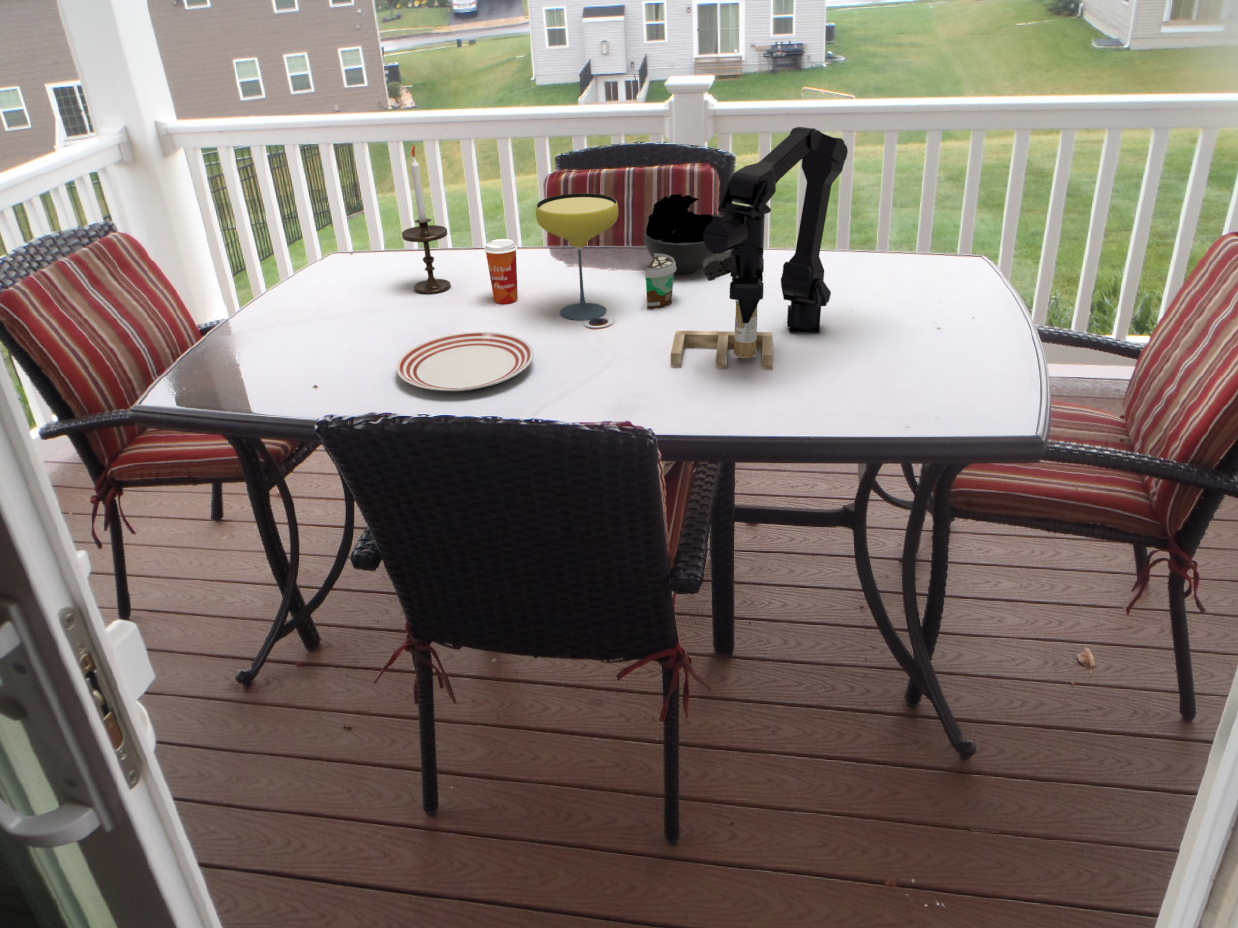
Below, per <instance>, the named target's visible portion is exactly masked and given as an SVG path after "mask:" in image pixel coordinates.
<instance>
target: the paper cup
mask: <svg viewBox="0 0 1238 928" xmlns="http://www.w3.org/2000/svg"><path fill="white" fill-rule="evenodd" d="M484 247H485V248H484V249H483V250H484V251H483V252H485V254H486V260H487V266H488V272H489V277H490V278H489V280H490V285H491V290H492V295H493V300H494V302H495V304H497V305H511V304H513V303H516V302H517V301H518V295H519V294H518V272H517V271H518V270H517V268H518V267H517V265H518V264H517V250H518V246H517V244H516V243H515V241H514V240H512V239H508V238H498V239H493V240H490V241H489V242H487V243H485V246H484Z"/></svg>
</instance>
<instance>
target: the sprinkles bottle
mask: <svg viewBox="0 0 1238 928" xmlns="http://www.w3.org/2000/svg"><path fill="white" fill-rule="evenodd" d="M734 318H735V319H734V332H735V348H734V349H733V354H734V356H736V357H737V358H739V359H740V358H741V359H747V358H748V359H749V358H753V357H754V356H756V354H757V351H756V350H757V349H756V338H757V332H758V306H757V307H756V309H755V311H754V313H753V315H752V317H751V319H750V321H749V323H743V321H742V316H741V311H740V306H739V301H738V300H735V317H734Z"/></svg>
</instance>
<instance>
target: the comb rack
mask: <svg viewBox="0 0 1238 928" xmlns="http://www.w3.org/2000/svg"><path fill="white" fill-rule="evenodd" d="M773 336H774V335H773V331H770V332H769V331H757V338H756V350H761V370H773V361H774V359H773V358H774V357H773V356H774V352H773V349H774V348H773V346H774V345H773V344H774V343H773ZM734 348H735V331H727V330H726V331H724V330H723V331H722V330H721V331H720V330H719V331H718V330H715V331H714V330H712V331H711V330H675V333H674V338H673V343H672V346H671V351H670V368H682V363H683V359H684V353H685V349H716V354H715V358H716V359H715V368H716V369H727V362H728V353H729V349H731V350H734Z"/></svg>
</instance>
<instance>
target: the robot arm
mask: <svg viewBox="0 0 1238 928" xmlns="http://www.w3.org/2000/svg"><path fill="white" fill-rule="evenodd" d="M845 143H846V142H845V141H844V139H843V138H841V137H836V136H835V137H834V136H831V135H827V134H825V133H823V132H821V131H820V130H818V129H816V128H812V127H804V126H797V127H794V128H792V129H791V131H790V133H789V135H788V136H786V138H784V139H783V140H782V141H781V142H780V143H779V144H777V146H776V147H774V148H773V149H772V150H771V151H769V153H767V155H766V156H764V157H763V158H762V159H761V160H760V161H758V162H756V163H753V164H749V165H745V166H743V167H741V168H740V169H738V170H736V171H734V173H733V174H732V175H731V176H730V178H729V180H728V183H727V186H726V188H725V190H724V192H723V195H722V198H721V200H720V203H719V205H718V208H717V211H718V212H721V213H718V214H717V213H715V214H716V215H713V214H712V215H713V220H712V223H710V224H708V225H707V227H706V228H705V231H704V233H703V239H704V243H705V245H706V247H707V248H708V250H709V251H711V252H712V253H714V254H717V255H715V256H712V257H709V258H707V259H705V260H704V261H703V268H702V269H703V271H704V273H703V274H704V276H706V280H707V281H708V282H711V281H714V280H715V279H717V278H720V277H723V276H726V275H728V274H730V277H731V282H730V283H729V299H730V300H733V301H736V300H738V301H739V306H740V311H741V316H742V321H743V323H749V321H750V319H751V317H752V315H753V313H754V311H755V309H756V307H757V308H758V306H759V305H758V304H759V303H760V301H761V300H764V284H765V283H764V282H763V281H764V276H763V273H764V268H765V266H764V264H765V260H764V246H765V245H764V241H765V239H764V238H765V217H766V216H765V215H766V214H769V213H772V212H771V211H772V208H771V207H769V205H768V202H769V201H770V199H771V198H773V196H774V194H775V193H776V192H777V184H778V182H779V181H780V180H781V179H782V178H783V177H784V176H785V175H786V174H788V172H789V171H790V170H792V168H794V167H795V166H796V165H797V164H798V163H799V162H800V161H801V169H802V171H803V175H804V178H805V180H806V186H805V191H804V198H803V203H802V210H801V215H800V216H801V217H800V222H799V223H800V224H799V229H798V235H797V240H796V247H795V252H794V254H793V255H792V257H791V258H790V259H789V261H785V262H784V263H783V265H782V266H783V267H782V274H781V277H780V288H781V292H782V297H783V300H784V301H790V304H789V305H787V314H786V315H787V317H786V327H787V328H788V331H789V334H820V333H821V326H820V325H821V313H822V312H821V311H822V307H826V306H827V303H828V304H829V302H830V300H831V295H832V292H831V290H830V288H829V287H828V286H827V284H826V282H825V281H824V278H825V269H824V266H823V263H822V260H821V257H820V253H821V248H822V241H823V235H824V229H825V224H826V219H827V213H828V206H829V201H830V195H831V189H832V185H833V184H834V182H835V180H837V178H838V177H839V175H840V174H841V173H842V172H843V169H844V164H845V162H846V160H847V157H848V147H847V144H845ZM735 203H736V204H735Z"/></svg>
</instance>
